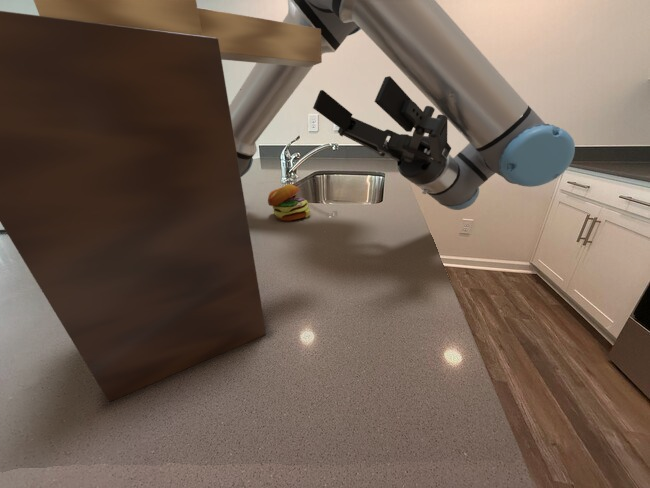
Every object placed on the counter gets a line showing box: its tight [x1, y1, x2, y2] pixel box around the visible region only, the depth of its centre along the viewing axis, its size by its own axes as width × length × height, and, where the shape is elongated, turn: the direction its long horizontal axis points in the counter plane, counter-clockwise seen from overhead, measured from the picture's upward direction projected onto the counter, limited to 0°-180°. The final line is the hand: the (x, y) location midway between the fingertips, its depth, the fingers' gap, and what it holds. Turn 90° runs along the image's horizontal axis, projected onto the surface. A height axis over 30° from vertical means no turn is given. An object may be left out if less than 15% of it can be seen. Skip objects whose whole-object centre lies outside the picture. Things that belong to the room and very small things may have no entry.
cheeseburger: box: [267, 183, 311, 222], centre depth 71 cm, size 10×11×10 cm
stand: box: [0, 10, 267, 402], centre depth 27 cm, size 16×12×30 cm
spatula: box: [33, 0, 323, 67], centre depth 24 cm, size 22×11×3 cm, turn 122°
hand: (344, 94), depth 33 cm, fingers open, 13 cm apart
